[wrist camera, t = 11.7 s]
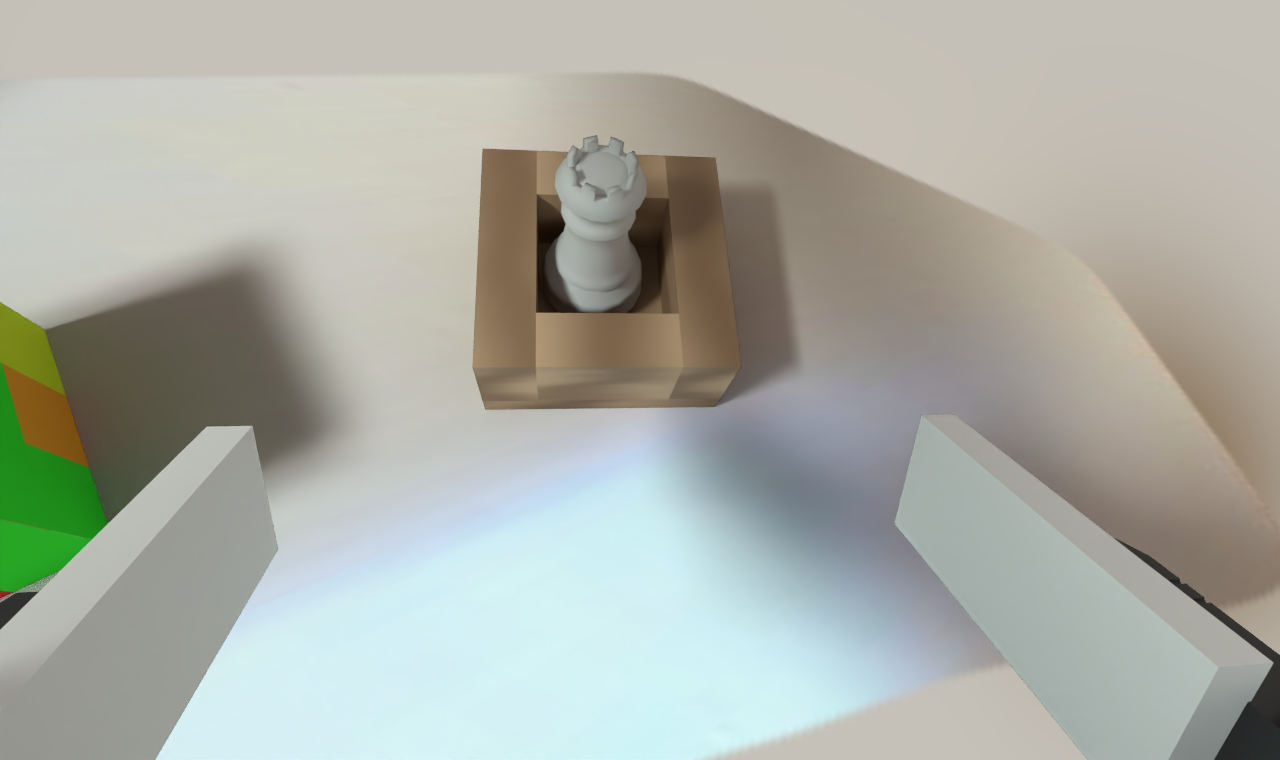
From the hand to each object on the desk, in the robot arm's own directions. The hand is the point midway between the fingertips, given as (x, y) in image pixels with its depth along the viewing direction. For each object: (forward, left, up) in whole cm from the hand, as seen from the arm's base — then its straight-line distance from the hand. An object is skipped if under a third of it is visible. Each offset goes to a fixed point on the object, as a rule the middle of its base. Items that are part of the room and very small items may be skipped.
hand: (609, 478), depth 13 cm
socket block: (+1, +11, -14) cm, 18 cm away
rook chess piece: (+1, +12, -13) cm, 18 cm away
